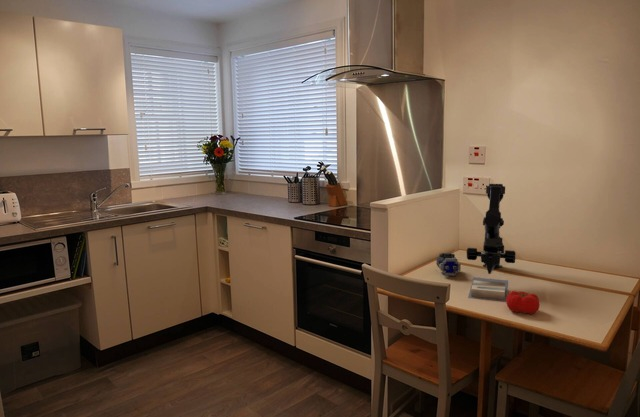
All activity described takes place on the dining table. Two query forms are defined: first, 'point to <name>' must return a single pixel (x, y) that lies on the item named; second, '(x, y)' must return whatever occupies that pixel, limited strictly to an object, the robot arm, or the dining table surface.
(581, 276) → the dining table surface
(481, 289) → the board
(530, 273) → the dining table surface
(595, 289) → the dining table surface
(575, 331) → the dining table surface
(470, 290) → the mat
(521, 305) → the tomato
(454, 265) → the toy
